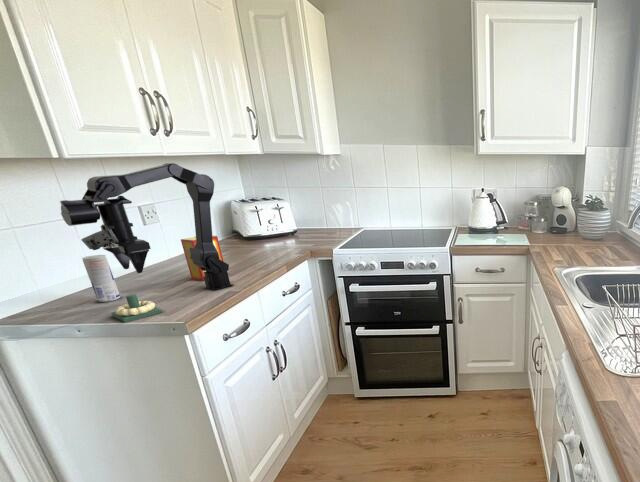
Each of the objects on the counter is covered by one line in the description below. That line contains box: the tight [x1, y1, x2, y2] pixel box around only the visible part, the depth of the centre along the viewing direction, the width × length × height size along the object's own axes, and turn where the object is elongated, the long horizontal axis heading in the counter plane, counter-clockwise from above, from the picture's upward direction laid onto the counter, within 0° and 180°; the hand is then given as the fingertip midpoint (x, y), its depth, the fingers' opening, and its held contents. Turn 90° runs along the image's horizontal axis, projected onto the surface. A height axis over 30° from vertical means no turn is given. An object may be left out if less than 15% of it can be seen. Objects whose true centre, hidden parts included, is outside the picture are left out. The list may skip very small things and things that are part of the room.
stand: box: [111, 293, 162, 323], centre depth 125 cm, size 9×9×6 cm
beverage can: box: [81, 254, 121, 303], centre depth 136 cm, size 6×6×15 cm
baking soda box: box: [180, 235, 225, 282], centre depth 161 cm, size 10×6×16 cm
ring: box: [114, 300, 156, 316], centre depth 125 cm, size 9×9×2 cm
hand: (133, 270), depth 129 cm, fingers open, 9 cm apart
